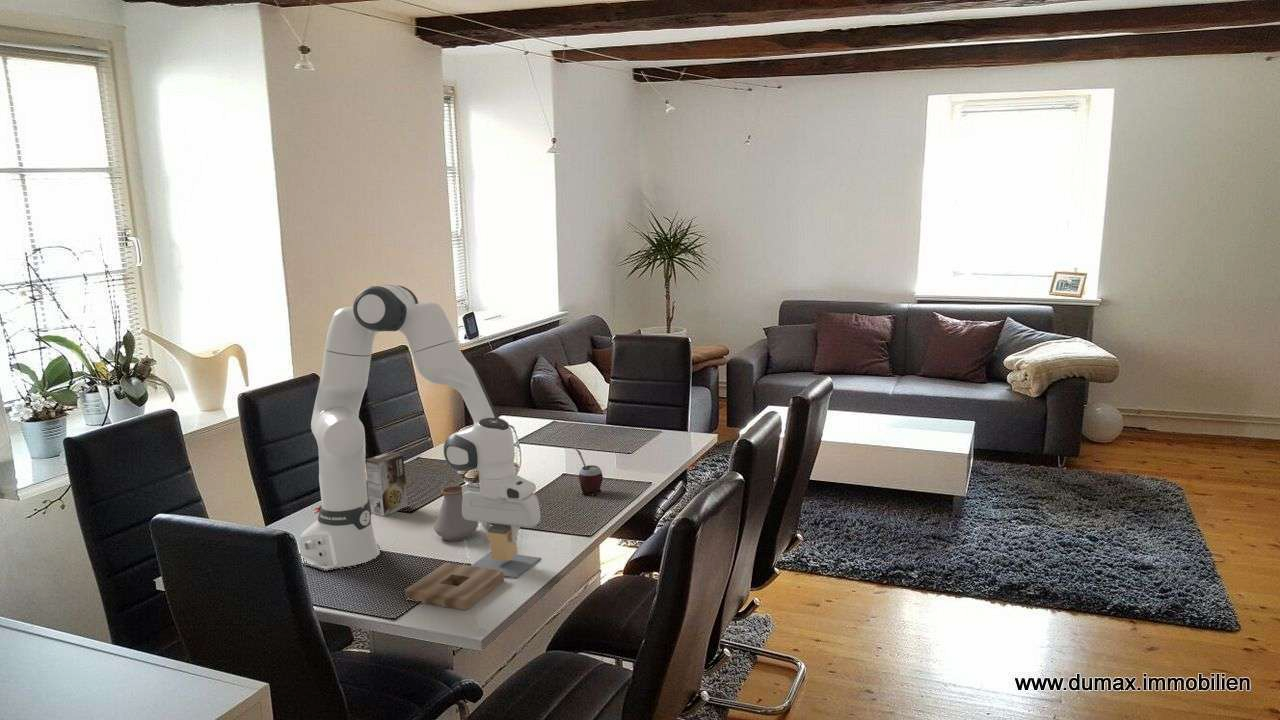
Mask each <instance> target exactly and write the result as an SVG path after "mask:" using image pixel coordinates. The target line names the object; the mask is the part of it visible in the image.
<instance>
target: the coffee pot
mask: <svg viewBox="0 0 1280 720" xmlns="http://www.w3.org/2000/svg"><path fill="white" fill-rule="evenodd" d="M478 481H479V472H478V473H477V474H476V475H475V476H474V478H473V479H472V480H471V481H470V482H471V483H478ZM463 486H464V485H463ZM463 486H462V485H451V486H446V487H444V488H441V491H440V493H441V494H442V496H443V501H442V503H441V506H440V509H439V512H438V515H437V518H436V520H435V523H434V532H435V533H436V534H437V535H438V536H439V537H441V538H442V539H443V540H445V541H448V542H449V541H450V542H456V541H462V540H463V541H464V540H467V539H468V538H470V537H471V536H472V534H474V533H475V531H476V530H477V529H478V525H479V521H471V520H465V519H464V517H463V516H462V499H463V495H462V487H463Z"/></svg>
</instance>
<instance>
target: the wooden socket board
mask: <svg viewBox="0 0 1280 720" xmlns="http://www.w3.org/2000/svg"><path fill="white" fill-rule="evenodd" d="M503 582H505V577H504V574H503V571H500V570H493V569H486V568H480V567H473V566H471V565H466V564H460V563H459V564H458V563H452V562H444V563H443V564H442V565H440V566H439V567H437V568H435V569H434V570H432V571H430V573H427V574H426V575H425V576H423V577H421V578H420V579H419V580H417V581H416V582H413V584H411V585H410V586H408V587H407V588H405V589H404V597H405V598H409V599H414V600H418V601H421V602H423V603H422V604H425V603H426V605H431V606H437V607H442V608H448V609H455V610H460V611H466V612H467V610H468V609H470V608H471V607H472V606H474V605H475V604H476V603H478V602H479V601H480V600H482V599H483V598H484V597H486V596H487V595H488V594H489V593H491V592H492V591H493V590H494V589H496V588H497V587H498V586H499V585H501V584H502V583H503Z"/></svg>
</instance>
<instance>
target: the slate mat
mask: <svg viewBox="0 0 1280 720" xmlns="http://www.w3.org/2000/svg"><path fill="white" fill-rule="evenodd" d="M540 560H542V559H541V557H537V556H531V555H523V554H518V553H517V554H516V555H515V556H514V557H512V558H511V559H510V560H509V561H502V560H494V559H492V554H491V551H490V552H489V553H487V554H485V555H484V556H482V557H481V558H479V559H478V560H477V561H475V562H474V563H472V565H470V566H473V567H480V568H486V569H493V570H500V571H503V574H504V578H508V579H515V580H516V579H517V578H519V577H520V576H521V575H523V574H524V573H525V572H526V571H528V570H529V569H530V568H532V567H533V566H534V565H536V564H537V563H538V562H539V561H540Z"/></svg>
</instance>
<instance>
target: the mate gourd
mask: <svg viewBox="0 0 1280 720" xmlns="http://www.w3.org/2000/svg"><path fill="white" fill-rule="evenodd" d="M570 447H571V448H573V449H574V450H575V451H576V452H577V454H578V456H579V458H580V460H581V462H582V465H583V466H582V467H581V469H580V470H579V473H578V480H579V484H580V488H581V492H582V494H581V496H582V495H586V496H588V495H587V494H590V495H591V494H593V495H594V497H595V496H596V497H598V496H597V495H598V493H597V492H599V493H602V490H601V487H602V484H603V479H604V475H603V472H602V470H601V469H602V468H601V467H600V466H597V465H593V464H591V465H586V463H585V461H584V458H583V455H582V453H581V451H580V450H579V449H578V448H577V447H575V446H574V445H572V444H570ZM593 495H592V496H593Z"/></svg>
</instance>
